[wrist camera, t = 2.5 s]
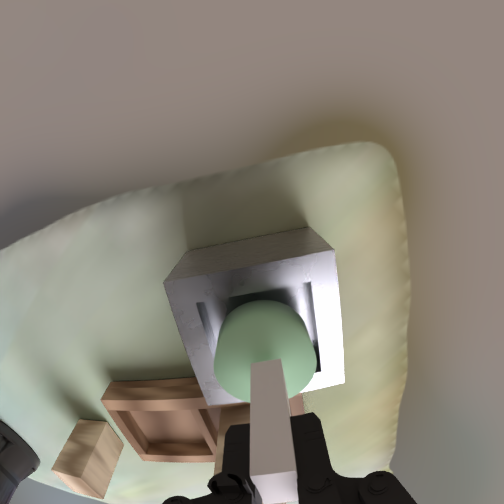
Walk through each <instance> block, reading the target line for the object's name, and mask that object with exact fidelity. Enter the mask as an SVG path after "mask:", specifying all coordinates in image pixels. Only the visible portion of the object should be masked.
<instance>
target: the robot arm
mask: <svg viewBox="0 0 504 504" xmlns="http://www.w3.org/2000/svg"><path fill="white" fill-rule="evenodd" d="M223 452H224V453H223V462H222V472H220V473H218V474H216V475H214V476H213V477H212V478H211V479H210V480H209V483H208V485H207V486H208V488H209V489H210V490H211V492H212V493H211V494H209V495H206V496H203V497H199V498H195V499H191V500H190V499H188V498H186V497H184V496H174V497H170V498H168V499H167V500H165V501H164V502H163V503H162V504H262V502H263V504H276V503H284V502H292V501H298V500H299V504H417V503H416V502H415V501H414V499H413V498H412V497H411V496H410V494H409V493H408V492H407V491H406V489H405V488H404V487H403V486H402V485H401V483H400V482H399V481H398V480H397V478H396V477H395V476H394V475H393V474H391V473H390V472H386V471H376V472H373V473H370V474H368V475H367V476H366V477H364V478H348V477H343V476H340V475H339V474H337V473H336V472H335V471H334V470H333V469H332V466H331V463H330V459H329V454H328V450H327V446H326V442H325V438H324V433H323V429H322V425H321V421H320V419H319V418H318V417H317V416H316V415H315V414H314V413H313V412H312V413H307V414H302V415H297V416H291V412H290V405H289V398H288V392H287V387H286V382H285V377H284V372H283V366H282V361H281V358H280V359H274V360H269V361H263V362H256V363H251V373H250V423H247V424H237V425H230V427H229V429H228V430H227V432H226V433H225V440H224V451H223ZM39 465H40V461H39V458H38V457H37V455H36V454H35V453H34V451H33V450H32V449H31V448H30V447H29V446H28V445H27V444H26V443H25V442H24V441H23V440H22V439H21V438H20V437H19V436H18V435H17V434H16V433H15V432H14V431H13V430H11V429H10V428H9V427H8V426H6V425H5V424H4V423H2V422H1V421H0V504H9V502H10V500H11V498H12V496H13V494H14V492H15V490H16V488H17V487H18V485H19V483H20V482H21V481H22V480H24V479H25V478H26V477H28V476H29V475H30V474H32V473H33V472H35V471H36V470H37V468H38V466H39Z"/></svg>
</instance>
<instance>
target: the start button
mask: <svg viewBox="0 0 504 504" xmlns="http://www.w3.org/2000/svg"><path fill="white" fill-rule="evenodd" d="M280 358H281V361H282V366H283V372H284V377H285V382H286V387H287V392H288V398H292V397H293V396H295V395H297V394H298V393H300V392H301V391H302V390H303V389H304V388H306V386H307V385H308V384H309V383H310V381H311V380H312V378H313V376H314V374H315V371H316V365H317V359H316V354H315V351H314V348H313V345H312V342H311V339H310V336H309V333H308V330H307V327H306V325H305V322H304V320H303V319H302V317H301V316H300V315H299V313H297V312H296V311H295V310H294V309H293V308H291V307H290V306H288V305H286V304H284V303H281V302H277V301H273V300H257V301H252V302H248V303H245V304H243V305H241V306H239V307H237V308H236V309H234V310H233V311H232V312H230V313H229V314H228V315H227V317H226V318H225V319H224V321H223V323H222V325H221V327H220V330H219V335H218V341H217V346H216V352H215V357H214V365H213V367H214V373H215V377H216V379H217V381H218V383H219V384H220V386H221V387H222V388H223V389H224V390H225V391H226V392H227V393H229V394H230V395H232V396H233V397H235V398H237V399H239V400H242V401H245V402H249V403H250V373H251V363H256V362H263V361H269V360H274V359H280Z"/></svg>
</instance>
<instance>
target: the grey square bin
mask: <svg viewBox="0 0 504 504" xmlns="http://www.w3.org/2000/svg"><path fill="white" fill-rule="evenodd" d="M163 284H164V287H165V290H166V294H167V297H168V300H169V303H170V306H171V309H172V312H173V315H174V318H175V321H176V324H177V327H178V330H179V332H180V335H181V338H182V341H183V344H184V346H185V349H186V352H187V354H188V357H189V360H190V362H191V365H192V368H193V370H194V373H195V375H196V378H197V380H198V383H199V385H200V388H201V390H202V392H203V395H204V397H205V400H206V402H207V404H208V406H211V405H222V404H231V403H240V402H245V401H242V400H239V399H237V398H235V397H233V396H232V395H230V394H229V393H227V392H226V391H225V390H224V389H223V388H222V387H221V386H220V384H219V383H218V381H217V379H216V377H215V373H214V367H213V365H214V357H215V352H216V346H217V341H218V335H219V330H220V327H221V325H222V323H223V321H224V319H225V318H226V317H227V315H228V314H229V313H230V312H232V311H233V310H234V309H236V308H237V307H239V306H241V305H243V304H245V303H248V302H252V301H257V300H273V301H277V302H281V303H284V304H286V305H288V306H290V307H291V308H293V309H294V310H295V311H296V312H297V313H299V315H300V316H301V317H302V319H303V320H304V322H305V325H306V327H307V330H308V333H309V336H310V339H311V342H312V345H313V348H314V351H315V354H316V359H317V365H316V371H315V374H314V376H313V378H312V380H311V381H310V383H309V384H308V385H307V386H306V388H304V389H303V390H302V391H301V392H306V391H311V390H315V389H320V388H324V387H329V386H333V385H337V384H341V383H344V357H343V338H342V323H341V310H340V298H339V287H338V278H337V268H336V259H335V251H334V249H333V248H332V247H331V246H330V245H329V244H328V243H327V242H326V241H325V240H324V239H323V238H322V237H321V236H319V235H318V234H317V233H316V232H315V231H314V230H313V229H312V228H311V227H307V228H301V229H296V230H291V231H286V232H281V233H275V234H270V235H265V236H260V237H255V238H250V239H245V240H240V241H235V242H230V243H225V244H220V245H215V246H210V247H205V248H200V249H195V250H191V251H187V252H186V253H185V254H184V256H183V257H182V258H181V260H180V261H179V262H178V263H177V265H176V266H175V267H174V269H173V270H172V271H171V273H170V274H169V275H168V277H167V278H166V279H165V281H164V282H163ZM301 392H300V393H301Z"/></svg>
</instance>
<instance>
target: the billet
mask: <svg viewBox="0 0 504 504" xmlns="http://www.w3.org/2000/svg"><path fill="white" fill-rule="evenodd" d="M123 446H124V444H123V443H122V442H121V440H120V439H119V438H118V436H117V435H116V434H115V432H114V431H113V429H112V428H111V427H110V425H109V424H108V422H103V421H92V420H83V419H79V421H78V422H77V424H76V426H75V428H74V429H73V431H72V433H71V435H70V436H69V438H68V440H67V442H66V443H65V445H64V447H63V449H62V451H61V452H60V454H59V456H58V458H57V460H56V462H55V463H54V465H53V467H52V469H51V470H52V471H53V472H54V473H55V474H56V475H57V476H58V477H59V478H60V479H61V480H62V481H63V482H64V483H65V484H66V485H67V486H68V487H69V488H71V489H72V490H73V491H74V492H78V493H81V494H84V495H88V496H92V497H96V498H100V499H104V496H105V494H106V491H107V488H108V485H109V483H110V480H111V477H112V475H113V472H114V469H115V467H116V464H117V462H118V459H119V456H120V454H121V451H122V449H123Z"/></svg>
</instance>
